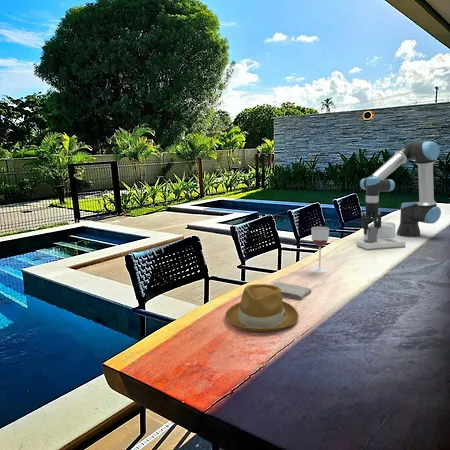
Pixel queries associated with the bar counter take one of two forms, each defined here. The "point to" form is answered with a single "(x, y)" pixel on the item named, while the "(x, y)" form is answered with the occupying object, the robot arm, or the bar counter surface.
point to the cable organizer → (386, 230)
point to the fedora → (262, 310)
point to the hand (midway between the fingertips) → (370, 239)
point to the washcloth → (292, 290)
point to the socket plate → (381, 244)
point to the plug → (371, 234)
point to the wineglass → (320, 243)
